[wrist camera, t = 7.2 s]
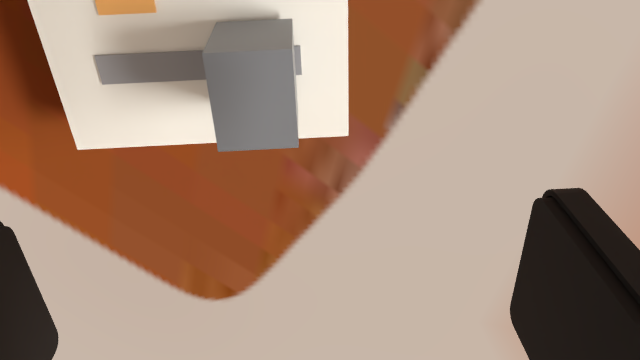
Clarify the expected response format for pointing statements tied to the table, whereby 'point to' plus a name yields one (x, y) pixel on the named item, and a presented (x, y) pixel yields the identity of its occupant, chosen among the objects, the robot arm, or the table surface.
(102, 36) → the switch box
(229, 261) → the table surface
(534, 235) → the robot arm
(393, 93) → the table surface
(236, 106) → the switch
